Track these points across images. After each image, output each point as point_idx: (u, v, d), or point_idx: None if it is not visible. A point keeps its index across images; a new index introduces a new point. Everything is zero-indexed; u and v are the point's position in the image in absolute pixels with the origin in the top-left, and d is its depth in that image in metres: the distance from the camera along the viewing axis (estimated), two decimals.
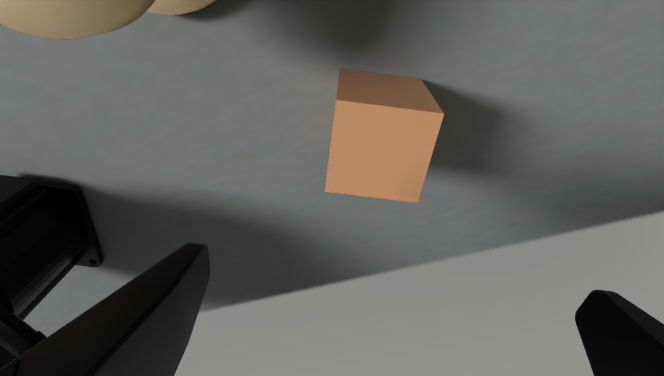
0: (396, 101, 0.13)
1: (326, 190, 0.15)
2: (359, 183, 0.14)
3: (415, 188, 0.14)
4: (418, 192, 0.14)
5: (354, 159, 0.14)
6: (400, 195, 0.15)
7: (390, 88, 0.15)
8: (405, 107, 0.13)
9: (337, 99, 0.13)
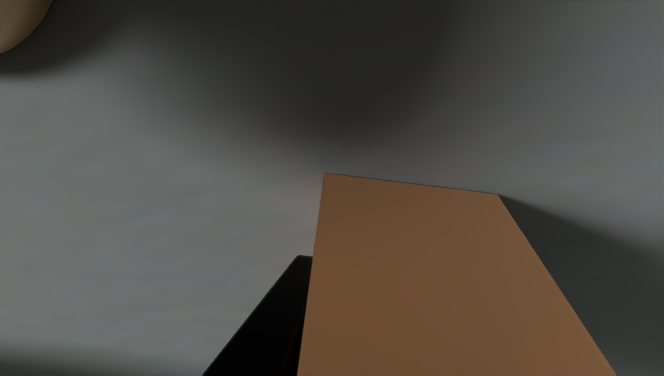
0: (484, 361, 0.04)
1: None
2: None
3: None
4: None
5: None
6: None
7: (447, 263, 0.06)
8: None
9: None
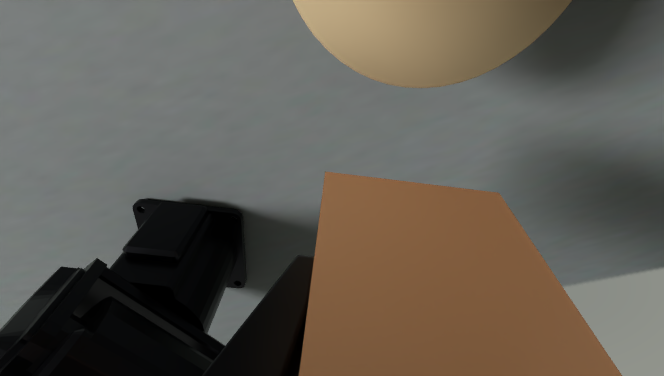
0: (489, 361, 0.04)
1: None
2: None
3: None
4: None
5: None
6: None
7: (450, 261, 0.06)
8: None
9: None
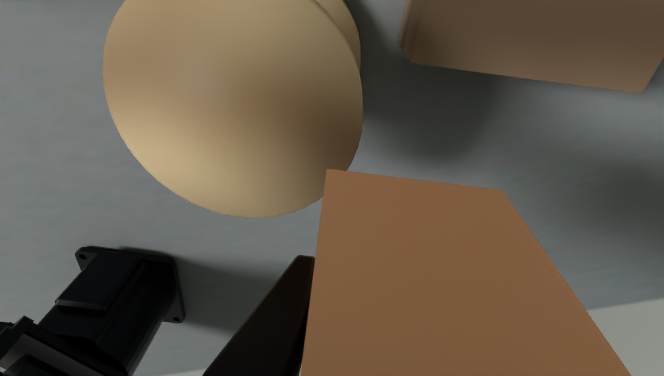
0: (494, 360, 0.04)
1: None
2: None
3: None
4: None
5: None
6: None
7: (453, 259, 0.06)
8: None
9: None
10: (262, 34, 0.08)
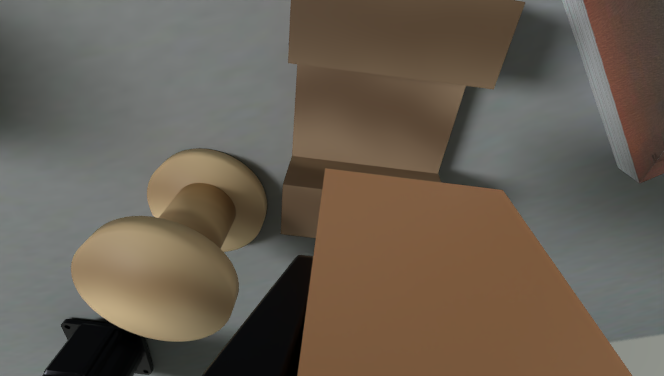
0: (494, 362, 0.04)
1: None
2: None
3: None
4: None
5: None
6: None
7: (453, 260, 0.06)
8: None
9: None
10: (163, 259, 0.14)
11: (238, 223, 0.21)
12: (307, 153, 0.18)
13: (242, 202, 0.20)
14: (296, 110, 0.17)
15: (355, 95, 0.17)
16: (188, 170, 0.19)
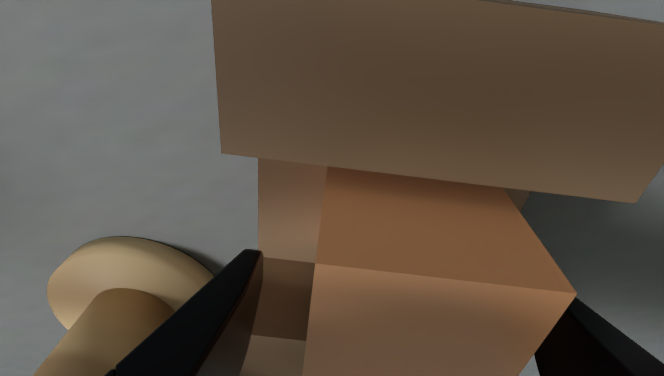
0: (453, 246, 0.06)
1: None
2: None
3: None
4: None
5: (358, 360, 0.06)
6: None
7: (430, 191, 0.07)
8: (481, 277, 0.05)
9: (318, 257, 0.05)
10: None
11: None
12: (281, 253, 0.12)
13: None
14: (261, 195, 0.11)
15: None
16: (103, 272, 0.13)
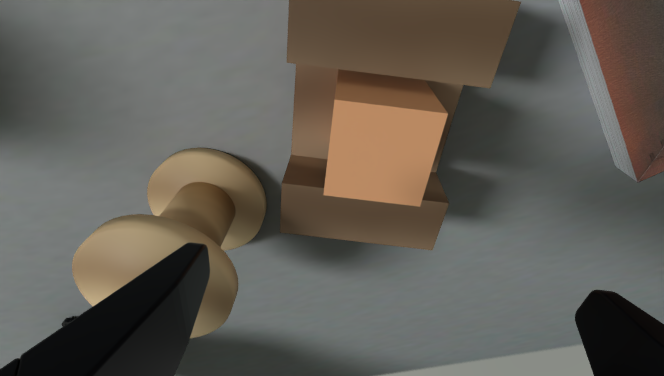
0: (397, 100, 0.13)
1: (324, 194, 0.14)
2: (359, 186, 0.14)
3: (417, 192, 0.14)
4: (420, 195, 0.14)
5: (353, 162, 0.13)
6: (402, 198, 0.14)
7: (391, 87, 0.14)
8: (407, 107, 0.12)
9: (335, 98, 0.12)
10: (164, 257, 0.14)
11: (238, 222, 0.21)
12: (306, 152, 0.19)
13: (241, 201, 0.21)
14: (295, 109, 0.17)
15: None
16: (188, 169, 0.20)
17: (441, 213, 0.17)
